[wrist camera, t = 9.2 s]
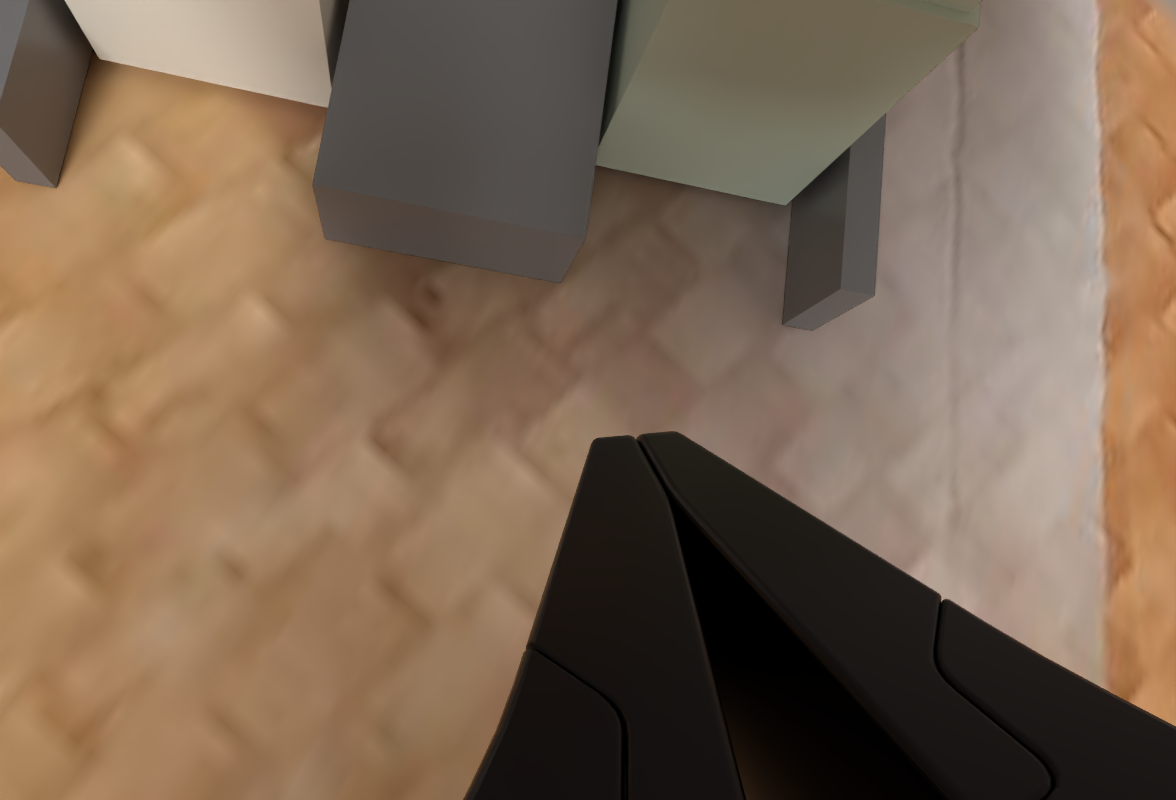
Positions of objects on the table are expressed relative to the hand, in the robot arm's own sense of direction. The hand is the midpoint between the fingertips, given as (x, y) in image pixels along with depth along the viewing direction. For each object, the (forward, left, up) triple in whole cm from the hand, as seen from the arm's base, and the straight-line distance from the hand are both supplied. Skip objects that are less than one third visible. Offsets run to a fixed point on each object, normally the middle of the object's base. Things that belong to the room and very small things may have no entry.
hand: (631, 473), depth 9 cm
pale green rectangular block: (+7, -8, -11) cm, 16 cm away
